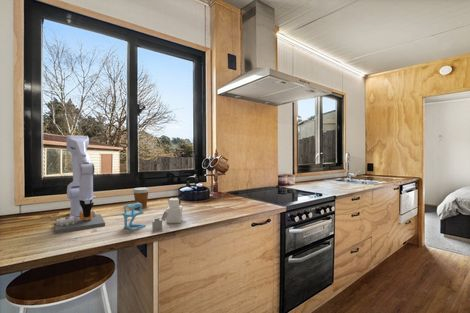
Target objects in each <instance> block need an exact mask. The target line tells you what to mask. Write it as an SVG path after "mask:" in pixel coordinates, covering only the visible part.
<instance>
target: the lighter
mask: <svg viewBox="0 0 470 313" xmlns="http://www.w3.org/2000/svg"><path fill="white" fill-rule="evenodd" d="M167 215H168V212H167V211H166V210H165V211H164V212H163V214H162V216H161V218H160V217H155V218H154V220H152V221H151V222H152V223H151V225H152V226H151V227H152V228H151V230H152V231H154V232H155V231H160V230H163V221H165V222H166V217H167Z"/></svg>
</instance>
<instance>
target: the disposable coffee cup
mask: <svg viewBox="0 0 470 313" xmlns="http://www.w3.org/2000/svg"><path fill="white" fill-rule="evenodd" d="M132 192H133V196H134V203H136V202H139V203H141V204H142V208H141V209H145V208H148V207H147V205H148V199H149V198H148V197H149V192H150V189H149V187H145V186H144V187H135V188H133V191H132ZM136 209H139V210H140V207H137V208H136Z"/></svg>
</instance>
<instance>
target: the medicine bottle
mask: <svg viewBox="0 0 470 313" xmlns="http://www.w3.org/2000/svg"><path fill="white" fill-rule="evenodd" d="M181 200H182V199H181V197H178V196H177V197H176V196H175V197H170V198H169V199H168V207H167V208H166V210H165V211H167V212H168V215H167V217H166V219H165V223H166V224H176V223H177V224H181V222H182V220H183V205H181V203H182V202H181Z"/></svg>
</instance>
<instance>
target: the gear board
mask: <svg viewBox="0 0 470 313" xmlns="http://www.w3.org/2000/svg"><path fill="white" fill-rule="evenodd" d="M104 226H106V222H105V219H104V218H103V217H102V214H101V213H99V214H98V213H97V212H96V211H95V210H93V218H92V219H88V220H81V219H80V216H75V217H74V216H72V217H70V216H65V217H61V218H57V219H56V220H55V234H62V233H68V232H74V231H80V230H86V229H92V228H100V227H104Z"/></svg>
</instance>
